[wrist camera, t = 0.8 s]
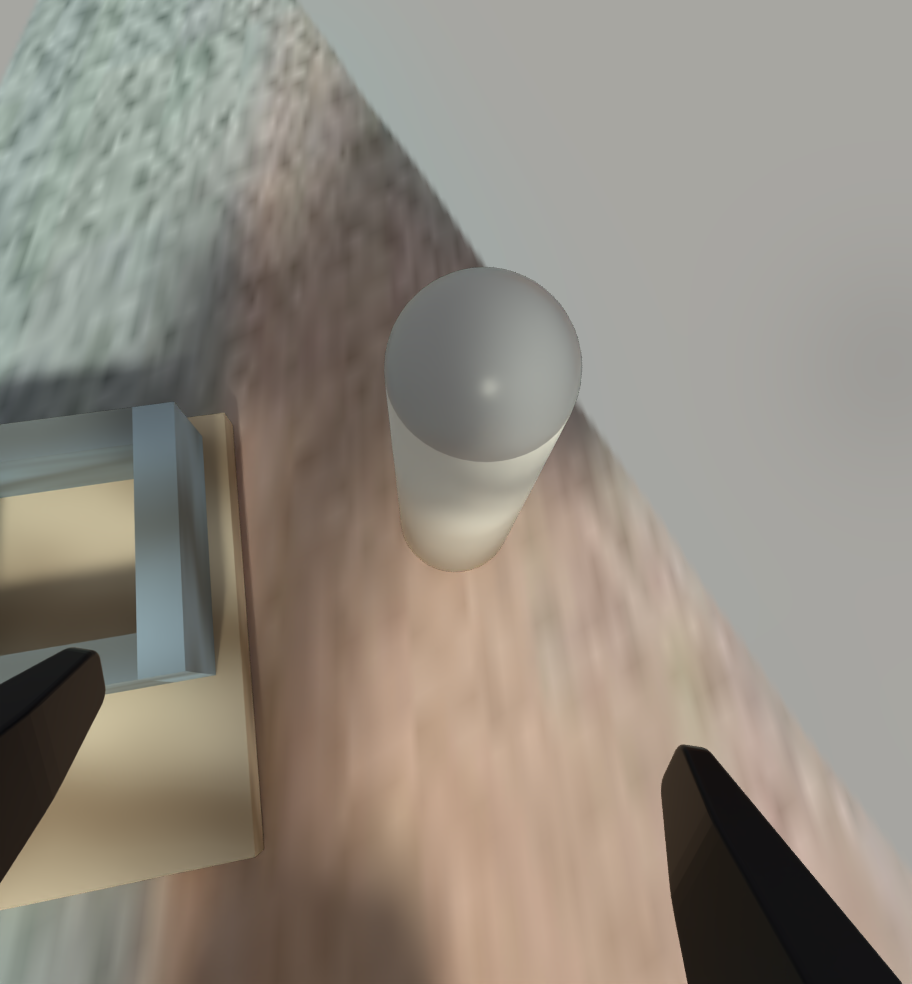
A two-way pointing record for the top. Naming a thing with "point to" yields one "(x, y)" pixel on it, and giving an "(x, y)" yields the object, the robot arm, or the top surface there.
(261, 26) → the top surface
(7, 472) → the jig
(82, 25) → the top surface
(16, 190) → the top surface
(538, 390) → the cylinder
